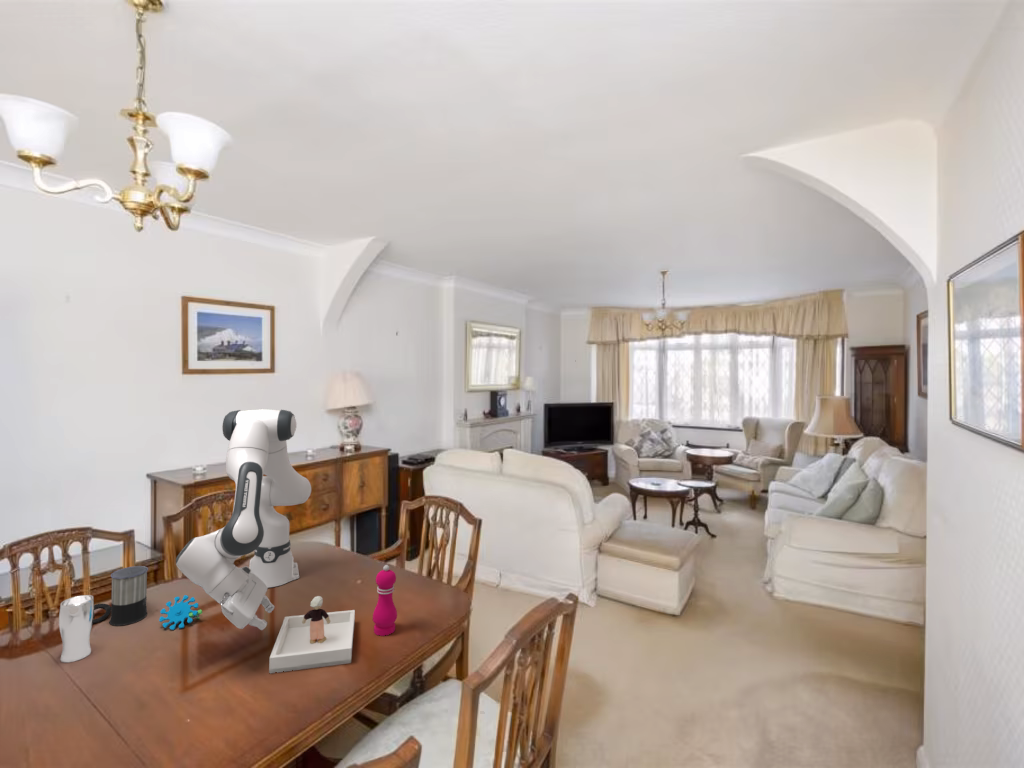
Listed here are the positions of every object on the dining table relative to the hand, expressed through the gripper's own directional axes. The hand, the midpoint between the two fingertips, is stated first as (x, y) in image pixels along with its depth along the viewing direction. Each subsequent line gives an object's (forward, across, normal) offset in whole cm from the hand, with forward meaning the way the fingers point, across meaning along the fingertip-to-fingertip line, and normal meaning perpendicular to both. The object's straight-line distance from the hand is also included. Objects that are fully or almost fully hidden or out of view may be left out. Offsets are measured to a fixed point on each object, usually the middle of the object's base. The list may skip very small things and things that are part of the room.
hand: (268, 618), depth 133 cm
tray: (+15, 0, -2) cm, 15 cm away
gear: (-13, +22, +27) cm, 37 cm away
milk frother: (-28, +29, +41) cm, 58 cm away
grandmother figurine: (+15, +1, -3) cm, 15 cm away
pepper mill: (+29, +4, -16) cm, 33 cm away
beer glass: (-28, +9, +41) cm, 50 cm away
